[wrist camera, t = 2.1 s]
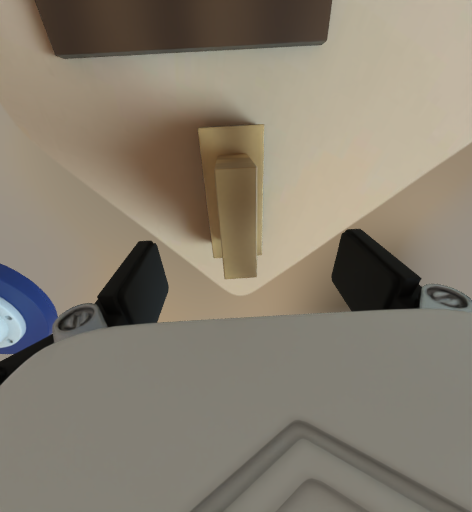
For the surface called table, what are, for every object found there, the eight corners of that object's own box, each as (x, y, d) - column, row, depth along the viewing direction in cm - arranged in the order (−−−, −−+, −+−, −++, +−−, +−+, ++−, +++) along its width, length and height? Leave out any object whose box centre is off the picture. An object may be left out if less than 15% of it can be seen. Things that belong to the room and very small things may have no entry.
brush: (214, 244, 25) (210, 299, 17) (201, 127, 19) (183, 129, 11) (257, 241, 25) (273, 295, 17) (258, 124, 19) (283, 123, 11)
